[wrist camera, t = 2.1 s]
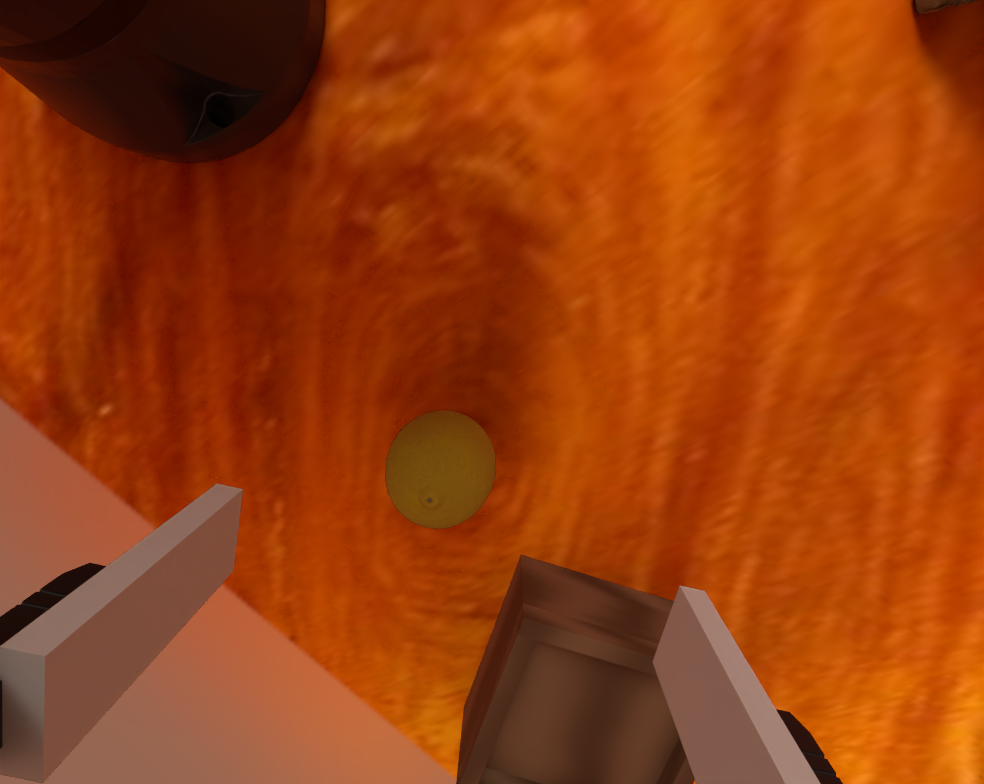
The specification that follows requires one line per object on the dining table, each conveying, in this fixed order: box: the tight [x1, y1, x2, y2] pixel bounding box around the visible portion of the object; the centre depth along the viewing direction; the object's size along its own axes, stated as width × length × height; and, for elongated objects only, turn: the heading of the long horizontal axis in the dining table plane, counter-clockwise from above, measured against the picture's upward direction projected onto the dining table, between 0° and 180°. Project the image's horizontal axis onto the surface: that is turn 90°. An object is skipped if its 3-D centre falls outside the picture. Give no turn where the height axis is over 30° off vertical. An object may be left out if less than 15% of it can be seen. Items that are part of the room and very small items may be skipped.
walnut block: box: [456, 555, 695, 784], centre depth 31 cm, size 12×12×6 cm
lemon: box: [385, 410, 496, 529], centre depth 26 cm, size 6×6×8 cm
